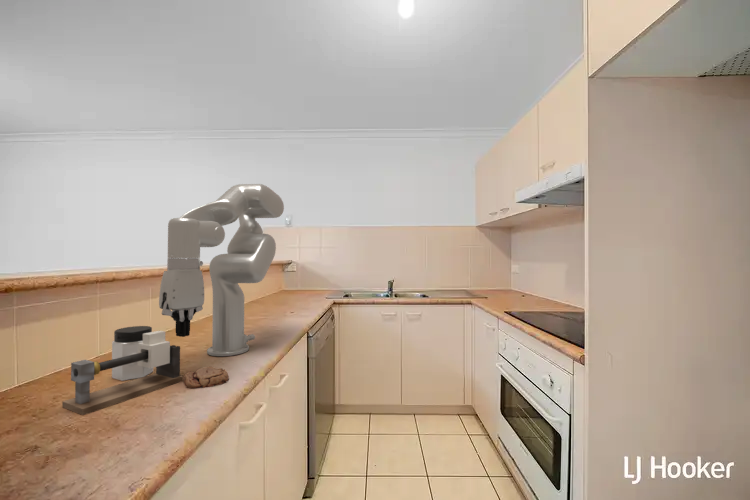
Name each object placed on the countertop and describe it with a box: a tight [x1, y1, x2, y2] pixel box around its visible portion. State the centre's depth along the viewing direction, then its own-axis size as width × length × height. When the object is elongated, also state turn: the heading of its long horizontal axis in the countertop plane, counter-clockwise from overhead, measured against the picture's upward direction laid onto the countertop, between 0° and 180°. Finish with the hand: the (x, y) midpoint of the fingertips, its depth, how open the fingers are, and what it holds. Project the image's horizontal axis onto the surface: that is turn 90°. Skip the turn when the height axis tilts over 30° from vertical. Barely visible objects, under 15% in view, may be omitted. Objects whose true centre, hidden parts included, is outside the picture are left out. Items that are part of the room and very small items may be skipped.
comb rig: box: [61, 344, 184, 416], centre depth 81 cm, size 21×8×9 cm, turn 154°
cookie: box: [183, 366, 230, 389], centre depth 88 cm, size 10×11×3 cm
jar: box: [111, 325, 154, 382], centre depth 92 cm, size 9×8×12 cm
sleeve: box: [138, 330, 171, 369], centre depth 86 cm, size 4×5×8 cm
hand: (182, 335), depth 92 cm, fingers closed
